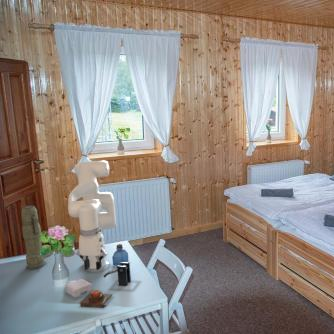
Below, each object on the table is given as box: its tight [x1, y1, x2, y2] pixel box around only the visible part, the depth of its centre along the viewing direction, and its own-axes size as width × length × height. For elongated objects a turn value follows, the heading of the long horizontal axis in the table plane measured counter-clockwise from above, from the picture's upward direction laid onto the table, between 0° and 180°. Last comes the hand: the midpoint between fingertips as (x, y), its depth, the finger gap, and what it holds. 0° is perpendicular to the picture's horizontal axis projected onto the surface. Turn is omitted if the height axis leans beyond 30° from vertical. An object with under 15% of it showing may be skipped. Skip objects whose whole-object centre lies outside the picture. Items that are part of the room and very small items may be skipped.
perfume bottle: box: [111, 243, 130, 266], centre depth 218 cm, size 6×6×12 cm
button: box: [91, 289, 101, 297], centre depth 181 cm, size 4×4×2 cm
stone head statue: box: [20, 204, 46, 270], centre depth 216 cm, size 9×12×35 cm
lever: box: [103, 264, 128, 278], centre depth 195 cm, size 12×5×2 cm, turn 83°
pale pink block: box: [64, 278, 94, 298], centre depth 192 cm, size 5×9×15 cm
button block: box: [79, 290, 113, 309], centre depth 181 cm, size 11×9×4 cm
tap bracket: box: [116, 261, 132, 287], centre depth 195 cm, size 12×9×12 cm
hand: (93, 268), depth 178 cm, fingers open, 4 cm apart
